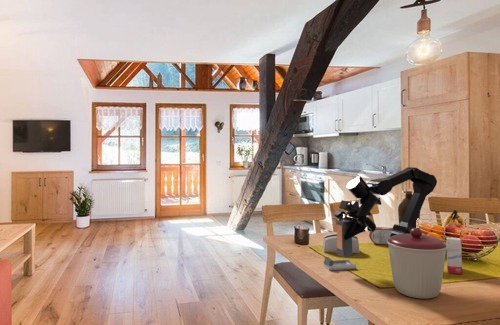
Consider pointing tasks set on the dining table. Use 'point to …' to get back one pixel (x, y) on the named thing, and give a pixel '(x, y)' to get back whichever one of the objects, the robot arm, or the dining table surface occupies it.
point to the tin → (380, 235)
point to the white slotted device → (331, 243)
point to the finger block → (343, 245)
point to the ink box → (454, 255)
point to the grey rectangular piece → (338, 264)
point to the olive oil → (405, 206)
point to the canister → (417, 263)
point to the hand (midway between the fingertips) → (341, 237)
